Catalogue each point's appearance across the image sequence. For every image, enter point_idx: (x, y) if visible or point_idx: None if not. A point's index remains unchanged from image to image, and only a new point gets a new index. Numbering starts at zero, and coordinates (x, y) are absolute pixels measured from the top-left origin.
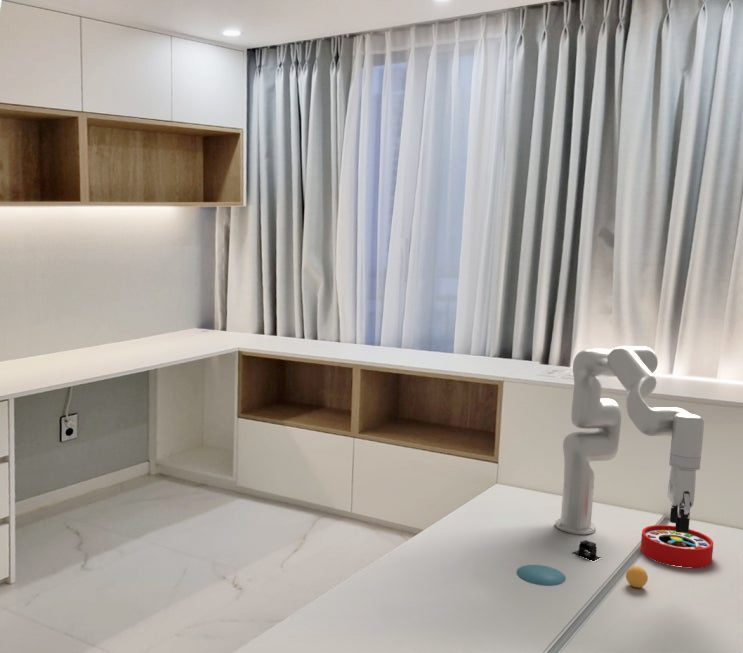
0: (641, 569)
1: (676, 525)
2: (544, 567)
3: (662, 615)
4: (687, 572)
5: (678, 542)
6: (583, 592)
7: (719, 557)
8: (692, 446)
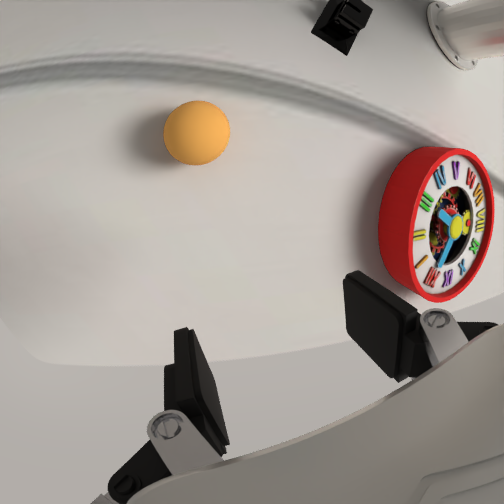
0: (191, 143)
1: (175, 356)
2: None
3: (56, 228)
4: (357, 251)
5: (447, 230)
6: (90, 34)
7: None
8: None
